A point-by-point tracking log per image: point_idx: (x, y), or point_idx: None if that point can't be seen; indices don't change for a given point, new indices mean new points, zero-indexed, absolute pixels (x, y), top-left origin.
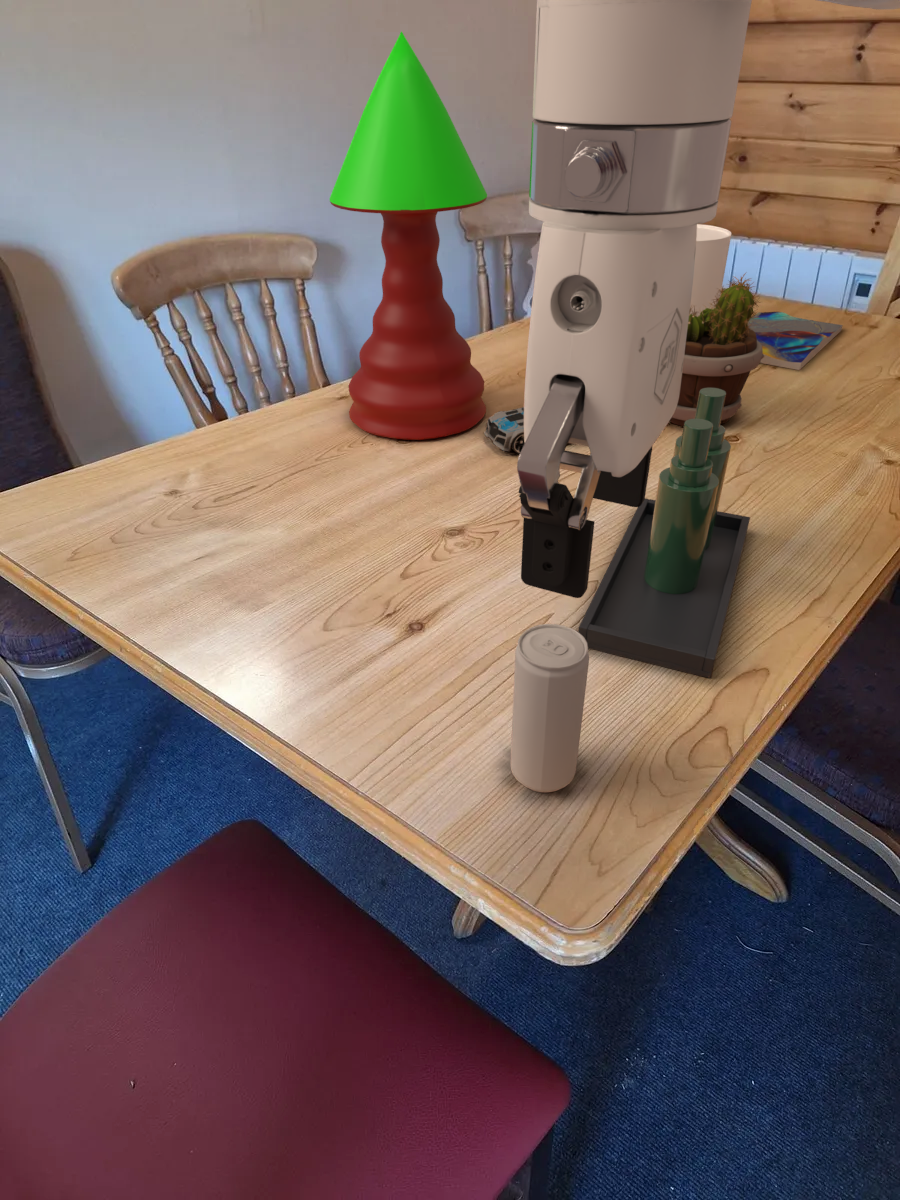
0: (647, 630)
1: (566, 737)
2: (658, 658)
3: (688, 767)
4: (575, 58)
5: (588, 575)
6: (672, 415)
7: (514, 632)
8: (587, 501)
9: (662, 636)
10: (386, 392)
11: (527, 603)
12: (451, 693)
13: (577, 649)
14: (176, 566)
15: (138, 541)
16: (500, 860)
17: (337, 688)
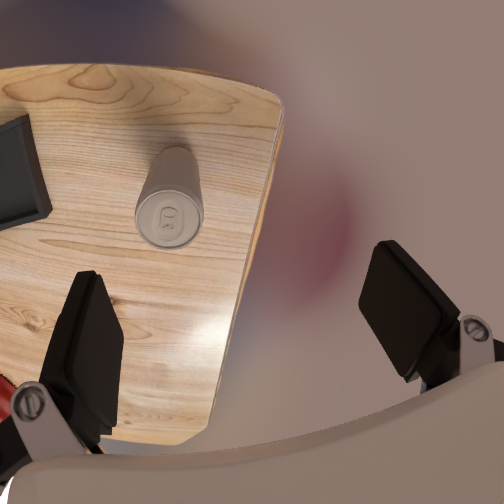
0: (13, 176)
1: (187, 164)
2: (33, 153)
3: (117, 84)
4: None
5: (396, 254)
6: (89, 469)
7: (70, 251)
8: (481, 348)
9: (12, 164)
10: (6, 407)
11: (43, 259)
12: (146, 252)
13: (159, 200)
14: (165, 398)
15: (163, 414)
16: (256, 158)
17: (186, 304)
